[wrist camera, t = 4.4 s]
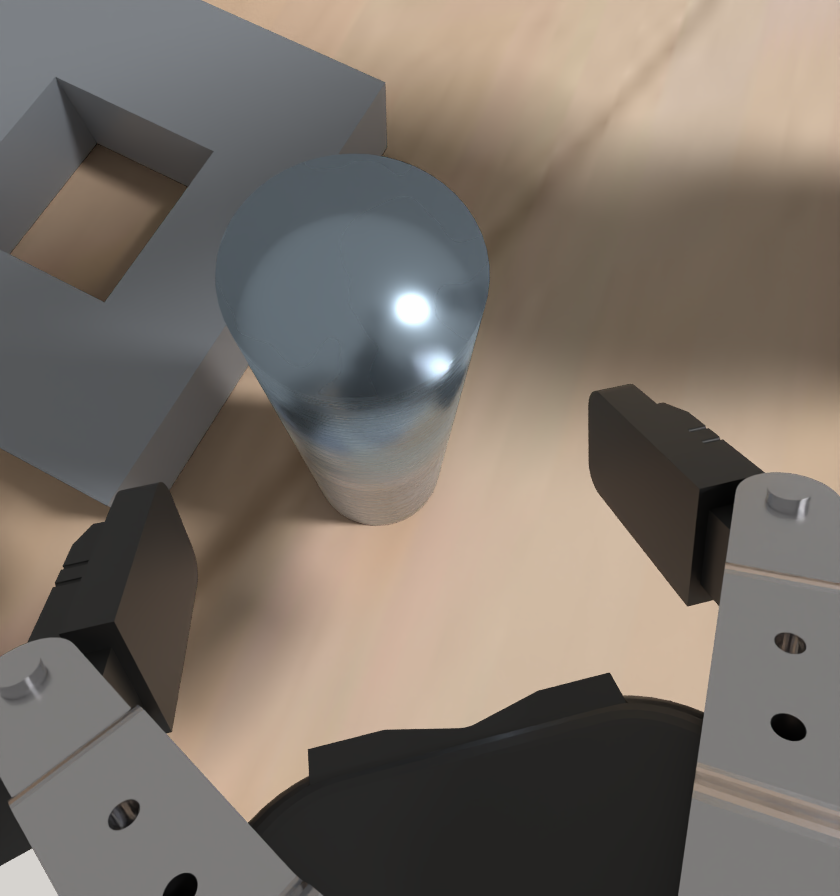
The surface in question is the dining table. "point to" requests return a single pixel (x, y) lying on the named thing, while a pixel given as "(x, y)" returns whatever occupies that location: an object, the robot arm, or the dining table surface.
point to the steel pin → (358, 321)
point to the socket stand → (178, 237)
